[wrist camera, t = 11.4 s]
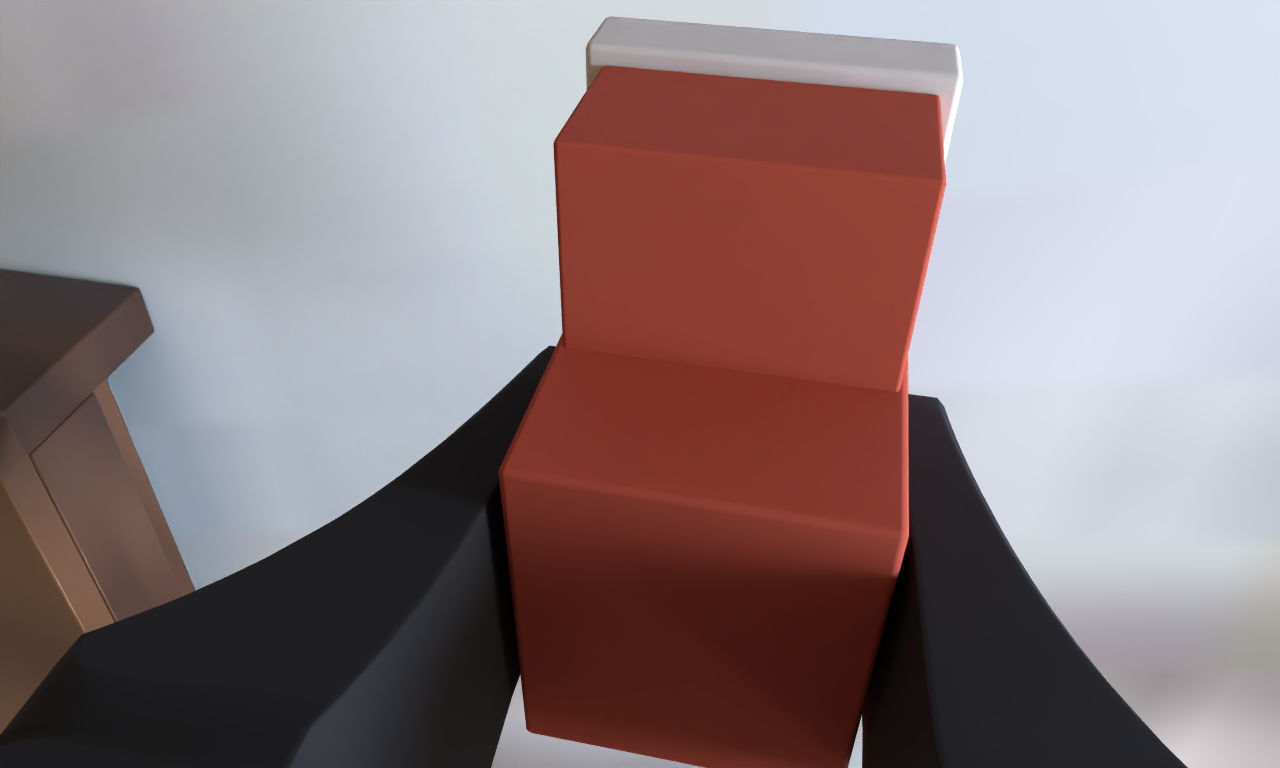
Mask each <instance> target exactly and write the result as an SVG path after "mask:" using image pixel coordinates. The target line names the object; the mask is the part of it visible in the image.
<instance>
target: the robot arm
mask: <svg viewBox="0 0 1280 768" xmlns="http://www.w3.org/2000/svg"><path fill="white" fill-rule="evenodd" d="M555 348H556V347H554V346H549V347H547V348H546V349H545V350H543V351H542V352H541V353H540V354H539V355H538V356H537V357H535V358H534V359H533V360H532V361H531V362H530V363H529V364H528V365H527V366H526V367H525V368H524V369H523V370H522V371H521V372H520V373H519V374H518V375H517V376H516V377H515V378H514V379H512V380H511V381H510V382H509V383H508V384H507V385H506V386H505V387H504V388H503V389H502V390H501V391H500V392H499V393H498V394H496V395H495V396H494V397H493V398H492V399H491V400H490V401H489V402H488V403H487V404H486V405H485V406H483V407H482V408H481V409H480V410H479V411H478V412H477V413H475V414H474V415H473V416H472V417H471V418H470V419H469V420H467V421H466V422H465V423H464V424H463V425H462V426H461V427H459V428H458V429H457V430H456V431H455V432H454V433H453V434H451V435H450V436H449V437H448V438H447V439H446V440H444V441H443V442H442V443H441V444H439V445H438V446H437V447H436V448H434V449H433V450H432V451H431V452H429V453H428V454H427V455H425V456H424V457H423V458H422V459H420V460H419V461H418V462H417V463H415V464H414V465H413V466H411V467H410V468H409V469H408V470H406V471H405V472H404V473H403V474H401V475H400V476H399V477H397V478H396V479H394V480H393V481H392V482H390V483H389V484H387V485H386V486H385V487H383V488H382V489H381V490H379V491H378V492H376V493H375V494H373V495H372V496H370V497H369V498H368V499H366V500H365V501H363V502H361V503H360V504H358V505H357V506H355V507H354V508H352V509H351V510H349V511H348V512H346V513H345V514H343V515H342V516H340V517H338V518H337V519H335V520H333V521H332V522H330V523H328V524H326V525H325V526H323V527H321V528H319V529H317V530H316V531H314V532H312V533H310V534H308V535H307V536H305V537H303V538H301V539H299V540H298V541H296V542H294V543H292V544H290V545H289V546H287V547H285V548H283V549H281V550H279V551H278V552H276V553H274V554H272V555H270V556H269V557H267V558H265V559H263V560H261V561H259V562H257V563H255V564H252V565H250V566H248V567H246V568H244V569H242V570H240V571H238V572H236V573H234V574H232V575H230V576H228V577H225V578H223V579H221V580H219V581H216V582H214V583H212V584H210V585H207V586H205V587H203V588H201V589H198V590H196V591H194V592H192V593H189V594H187V595H184V596H182V597H180V598H177V599H175V600H172V601H170V602H168V603H165V604H162V605H160V606H157V607H154V608H152V609H149V610H146V611H144V612H141V613H138V614H136V615H133V616H131V617H128V618H125V619H123V620H120V621H117V622H115V623H112V624H109V625H107V626H104V627H101V628H99V629H96V630H93V631H90V632H87V633H84V634H82V635H81V636H80V637H79V638H78V639H77V640H76V641H75V643H74V644H73V645H72V646H71V647H70V648H69V649H68V651H67V652H66V653H65V654H64V655H63V656H62V657H61V659H60V660H59V661H58V662H57V663H56V664H55V666H54V667H53V668H52V669H51V671H50V672H49V673H48V675H47V676H46V677H45V678H44V680H43V681H42V682H41V683H40V685H39V686H38V687H37V689H36V690H35V691H34V692H33V694H32V695H31V696H30V698H29V699H28V700H27V701H26V703H25V704H24V705H23V706H22V708H21V709H20V710H19V712H18V713H17V714H16V715H15V717H14V718H13V719H12V720H11V722H10V723H9V724H8V726H7V727H6V728H5V729H4V731H3V732H2V733H1V735H0V768H491V766H492V762H493V759H494V756H495V752H496V749H497V745H498V742H499V739H500V735H501V732H502V729H503V725H504V722H505V719H506V715H507V712H508V708H509V705H510V702H511V698H512V695H513V693H514V690H515V687H516V684H517V682H518V679H519V676H520V665H519V656H518V646H517V637H516V628H515V619H514V610H513V601H512V592H511V583H510V574H509V565H508V555H507V546H506V537H505V528H504V519H503V510H502V501H501V492H500V483H499V473H498V471H499V468H500V466H501V464H502V462H503V460H504V458H505V456H506V453H507V451H508V449H509V447H510V445H511V443H512V441H513V438H514V436H515V434H516V432H517V430H518V428H519V426H520V423H521V421H522V419H523V417H524V415H525V413H526V410H527V408H528V406H529V404H530V402H531V400H532V398H533V395H534V393H535V391H536V389H537V387H538V385H539V383H540V380H541V378H542V376H543V374H544V372H545V370H546V368H547V365H548V363H549V361H550V359H551V357H552V355H553V353H554V350H555ZM908 454H909V537H908V541H907V544H906V548H905V552H904V556H903V560H902V563H901V567H900V571H899V575H898V579H897V582H896V586H895V590H894V594H893V598H892V601H891V605H890V609H889V613H888V617H887V620H886V624H885V628H884V632H883V636H882V639H881V643H880V647H879V651H878V655H877V658H876V662H875V666H874V670H873V674H872V677H871V681H870V685H869V689H868V693H867V696H866V700H865V704H864V708H863V712H862V727H863V747H862V768H1187V767H1186V766H1185V765H1184V764H1183V763H1182V762H1181V761H1180V760H1179V759H1178V758H1177V757H1176V756H1175V755H1174V754H1173V753H1172V752H1171V751H1170V750H1169V749H1168V748H1167V747H1166V746H1165V745H1164V744H1163V743H1162V742H1161V741H1160V739H1159V738H1158V737H1157V736H1156V735H1155V734H1154V733H1153V732H1152V731H1151V729H1150V728H1149V727H1148V726H1147V725H1146V724H1145V723H1144V722H1143V721H1142V720H1141V718H1140V717H1139V716H1138V715H1137V714H1136V713H1135V712H1134V711H1133V710H1132V708H1131V707H1130V706H1129V705H1128V704H1127V703H1126V702H1125V701H1124V700H1123V699H1122V697H1121V696H1120V695H1119V694H1118V693H1117V692H1116V691H1115V690H1114V689H1113V687H1112V686H1111V685H1110V684H1109V683H1108V682H1107V681H1106V679H1105V678H1104V677H1103V676H1102V674H1101V673H1100V672H1099V671H1098V669H1097V668H1096V667H1095V666H1094V664H1093V663H1092V662H1091V661H1090V659H1089V658H1088V657H1087V656H1086V654H1085V653H1084V652H1083V651H1082V649H1081V648H1080V647H1079V646H1078V644H1077V643H1076V642H1075V640H1074V639H1073V638H1072V636H1071V635H1070V634H1069V632H1068V631H1067V629H1066V628H1065V627H1064V625H1063V624H1062V623H1061V621H1060V620H1059V619H1058V617H1057V616H1056V615H1055V613H1054V612H1053V610H1052V609H1051V607H1050V606H1049V605H1048V603H1047V602H1046V600H1045V599H1044V597H1043V596H1042V594H1041V593H1040V591H1039V590H1038V588H1037V587H1036V585H1035V584H1034V582H1033V581H1032V579H1031V578H1030V576H1029V574H1028V573H1027V571H1026V570H1025V568H1024V566H1023V565H1022V563H1021V562H1020V560H1019V558H1018V557H1017V555H1016V554H1015V552H1014V550H1013V549H1012V547H1011V545H1010V544H1009V542H1008V540H1007V538H1006V537H1005V535H1004V533H1003V532H1002V530H1001V528H1000V526H999V524H998V522H997V521H996V519H995V517H994V515H993V513H992V511H991V509H990V508H989V506H988V504H987V502H986V500H985V498H984V496H983V495H982V493H981V491H980V489H979V487H978V485H977V483H976V481H975V479H974V477H973V475H972V472H971V470H970V468H969V466H968V464H967V462H966V460H965V457H964V455H963V453H962V451H961V448H960V446H959V444H958V442H957V439H956V437H955V434H954V432H953V430H952V427H951V424H950V422H949V419H948V416H947V414H946V411H945V408H944V406H943V405H942V403H941V402H940V401H939V400H938V398H934V397H926V396H919V395H911V394H908Z"/></svg>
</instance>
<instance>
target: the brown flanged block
mask: <svg viewBox="0 0 1280 768" xmlns="http://www.w3.org/2000/svg"><path fill="white" fill-rule="evenodd" d="M153 332H154V327H153V325H152V322H151V319H150V317H149V314H148V311H147V308H146V306H145V303H144V300H143V298H142V295H141V292H140V290H139V289H138V288H136V287H129V286H121V285H113V284H106V283H98V282H91V281H83V280H76V279H68V278H60V277H53V276H45V275H38V274H30V273H23V272H15V271H7V270H0V735H1V733H2V732H3V731H4V729H5V728H6V727H7V726H8V724H9V723H10V722H11V720H12V719H13V718H14V717H15V715H16V714H17V713H18V712H19V710H20V709H21V708H22V706H23V705H24V704H25V703H26V701H27V700H28V699H29V698H30V696H31V695H32V694H33V692H34V691H35V690H36V689H37V687H38V686H39V685H40V683H41V682H42V681H43V680H44V678H45V677H46V676H47V675H48V673H49V672H50V671H51V669H52V668H53V667H54V666H55V664H56V663H57V662H58V661H59V660H60V659H61V657H62V656H63V655H64V654H65V653H66V652H67V651H68V649H69V648H70V647H71V646H72V645H73V644H74V643H75V641H76V640H77V639H78V638H79V637H80V636H81V635H82V634H84V633H87V632H90V631H93V630H96V629H99V628H101V627H104V626H107V625H109V624H112V623H115V622H117V621H120V620H123V619H125V618H128V617H131V616H133V615H136V614H138V613H141V612H144V611H146V610H149V609H152V608H154V607H157V606H160V605H162V604H165V603H168V602H170V601H172V600H175V599H177V598H180V597H182V596H184V595H187V594H189V593H192V592H194V591H195V589H194V586H193V584H192V582H191V579H190V577H189V574H188V572H187V570H186V567H185V565H184V563H183V560H182V558H181V555H180V553H179V551H178V548H177V546H176V544H175V541H174V539H173V536H172V534H171V532H170V529H169V527H168V525H167V522H166V520H165V517H164V515H163V513H162V510H161V508H160V506H159V503H158V501H157V498H156V496H155V494H154V491H153V489H152V487H151V484H150V482H149V479H148V477H147V475H146V472H145V470H144V468H143V465H142V463H141V460H140V458H139V456H138V453H137V451H136V449H135V446H134V444H133V442H132V439H131V437H130V434H129V432H128V430H127V427H126V425H125V423H124V420H123V418H122V415H121V413H120V411H119V408H118V406H117V404H116V401H115V399H114V396H113V394H112V392H111V389H110V387H109V385H108V382H107V380H106V379H107V378H108V377H109V376H110V375H111V374H112V373H113V372H114V371H115V370H116V369H117V368H118V367H119V366H120V365H121V364H122V363H123V362H124V361H125V360H126V359H127V358H128V357H129V356H130V355H131V354H132V353H133V352H134V351H135V350H136V349H137V348H138V347H139V346H140V345H141V344H142V343H143V342H144V341H145V340H146V339H147V338H148V337H149V336H150V335H151V334H152V333H153Z"/></svg>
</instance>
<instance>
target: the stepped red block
mask: <svg viewBox="0 0 1280 768" xmlns="http://www.w3.org/2000/svg"><path fill="white" fill-rule="evenodd" d="M586 77H587V91H586V93H585V94H584V96H583V97H582V99H581V100H580V102H579V103H578V105H577V107H576V108H575V110H574V111H573V113H572V114H571V116H570V117H569V119H568V121H567V122H566V124H565V125H564V127H563V128H562V130H561V131H560V133H559V134H558V136H557V138H556V139H555V141H554V163H555V184H556V205H557V226H558V247H559V268H560V289H561V310H562V330H563V333H562V335H561V337H560V340H559V342H558V344H557V346H556V348H555V350H554V353H553V355H552V357H551V359H550V361H549V363H548V365H547V368H546V370H545V372H544V374H543V376H542V378H541V380H540V383H539V385H538V387H537V389H536V391H535V393H534V395H533V398H532V400H531V402H530V404H529V406H528V408H527V410H526V413H525V415H524V417H523V419H522V421H521V423H520V426H519V428H518V430H517V432H516V434H515V436H514V438H513V441H512V443H511V445H510V447H509V449H508V451H507V453H506V456H505V458H504V460H503V462H502V464H501V466H500V468H499V471H498V473H499V483H500V492H501V501H502V510H503V519H504V528H505V537H506V546H507V555H508V565H509V574H510V583H511V592H512V601H513V610H514V619H515V628H516V637H517V646H518V656H519V665H520V674H521V683H522V692H523V701H524V710H525V719H526V728H527V730H528V731H530V732H531V733H535V734H540V735H545V736H550V737H555V738H560V739H565V740H570V741H575V742H580V743H585V744H590V745H595V746H601V747H606V748H611V749H616V750H621V751H626V752H631V753H636V754H641V755H646V756H651V757H656V758H661V759H666V760H671V761H676V762H681V763H686V764H691V765H697V766H702V767H707V768H848V765H849V761H850V757H851V753H852V750H853V746H854V742H855V738H856V734H857V731H858V727H859V723H860V719H861V715H862V712H863V708H864V704H865V700H866V696H867V693H868V689H869V685H870V681H871V677H872V674H873V670H874V666H875V662H876V658H877V655H878V651H879V647H880V643H881V639H882V636H883V632H884V628H885V624H886V620H887V617H888V613H889V609H890V605H891V601H892V598H893V594H894V590H895V586H896V582H897V579H898V575H899V571H900V567H901V563H902V560H903V556H904V552H905V548H906V544H907V541H908V537H909V454H908V351H909V347H910V343H911V338H912V334H913V329H914V325H915V320H916V316H917V311H918V307H919V302H920V298H921V294H922V289H923V285H924V280H925V276H926V271H927V267H928V262H929V258H930V254H931V249H932V245H933V240H934V236H935V231H936V227H937V222H938V218H939V213H940V209H941V205H942V200H943V196H944V191H945V187H946V174H945V161H946V156H947V152H948V147H949V143H950V138H951V134H952V129H953V125H954V120H955V116H956V111H957V107H958V102H959V97H960V93H961V88H962V84H963V75H962V67H961V59H960V52H959V47H958V46H956V45H954V44H946V43H933V42H921V41H908V40H896V39H884V38H871V37H859V36H846V35H834V34H821V33H809V32H797V31H784V30H772V29H759V28H747V27H734V26H722V25H710V24H697V23H685V22H672V21H660V20H647V19H635V18H623V17H608V18H605V20H604V21H603V23H602V24H601V25H600V27H599V28H598V30H597V31H596V32H595V34H594V35H593V37H592V38H591V40H590V41H589V42H588V44H587V47H586Z"/></svg>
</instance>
